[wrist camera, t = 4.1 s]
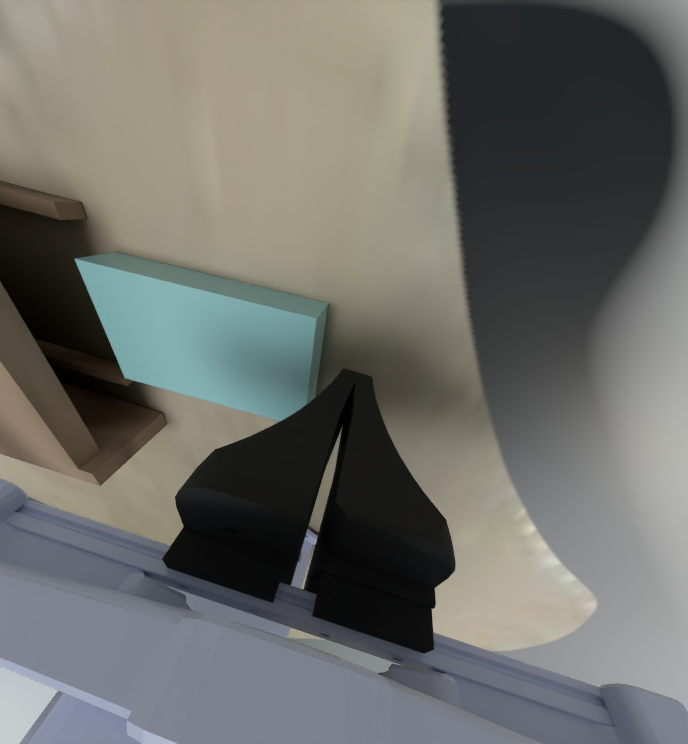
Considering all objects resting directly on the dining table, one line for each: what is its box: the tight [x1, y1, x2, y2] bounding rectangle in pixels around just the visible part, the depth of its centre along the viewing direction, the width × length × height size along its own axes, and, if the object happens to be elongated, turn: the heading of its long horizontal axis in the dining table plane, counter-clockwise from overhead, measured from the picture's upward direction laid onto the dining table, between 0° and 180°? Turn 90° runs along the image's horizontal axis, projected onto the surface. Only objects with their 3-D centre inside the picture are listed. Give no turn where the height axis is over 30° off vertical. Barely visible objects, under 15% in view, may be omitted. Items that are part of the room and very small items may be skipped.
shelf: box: [0, 181, 167, 486], centre depth 12 cm, size 9×13×5 cm
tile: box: [75, 252, 328, 421], centre depth 12 cm, size 10×6×2 cm, turn 80°
